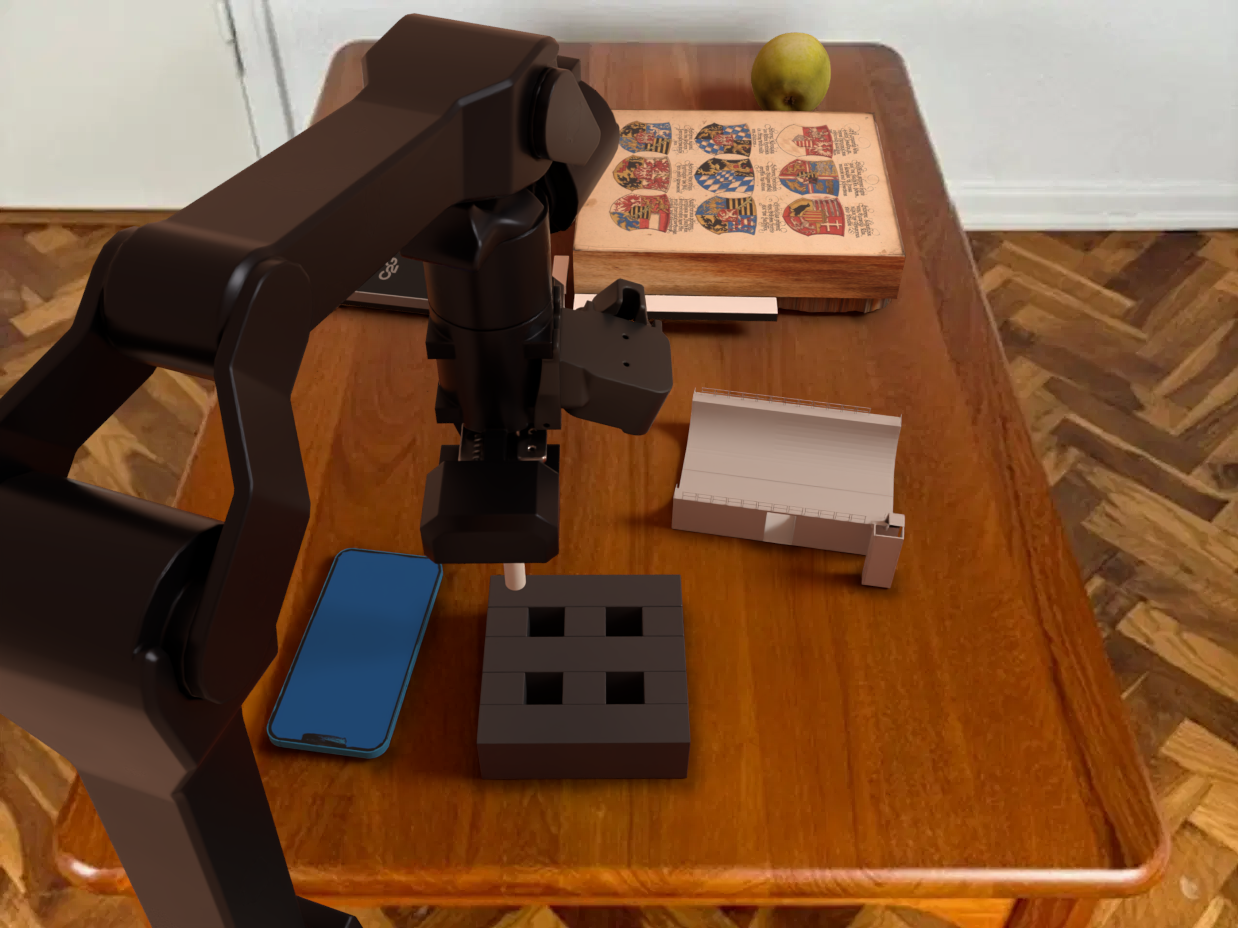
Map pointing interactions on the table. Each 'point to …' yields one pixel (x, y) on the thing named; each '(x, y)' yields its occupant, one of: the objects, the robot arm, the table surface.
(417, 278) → the external hard drive
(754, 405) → the skate ramp
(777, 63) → the apple
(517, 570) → the stylus
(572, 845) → the table surface
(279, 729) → the smartphone
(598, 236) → the book
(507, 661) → the pen stand
